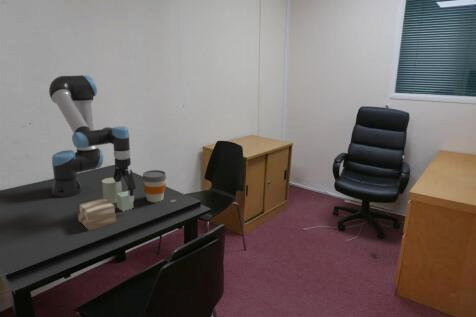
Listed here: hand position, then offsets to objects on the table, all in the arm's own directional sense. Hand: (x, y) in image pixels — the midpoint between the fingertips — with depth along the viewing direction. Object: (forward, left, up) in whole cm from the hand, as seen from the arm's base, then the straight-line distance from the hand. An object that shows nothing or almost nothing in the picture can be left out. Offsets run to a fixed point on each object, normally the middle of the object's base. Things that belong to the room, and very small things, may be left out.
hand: (125, 197), depth 179 cm
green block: (0, 0, -6) cm, 6 cm away
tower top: (+6, -17, -2) cm, 18 cm away
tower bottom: (+6, -17, -7) cm, 19 cm away
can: (-14, -1, -6) cm, 16 cm away
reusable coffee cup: (-1, +18, -6) cm, 19 cm away
